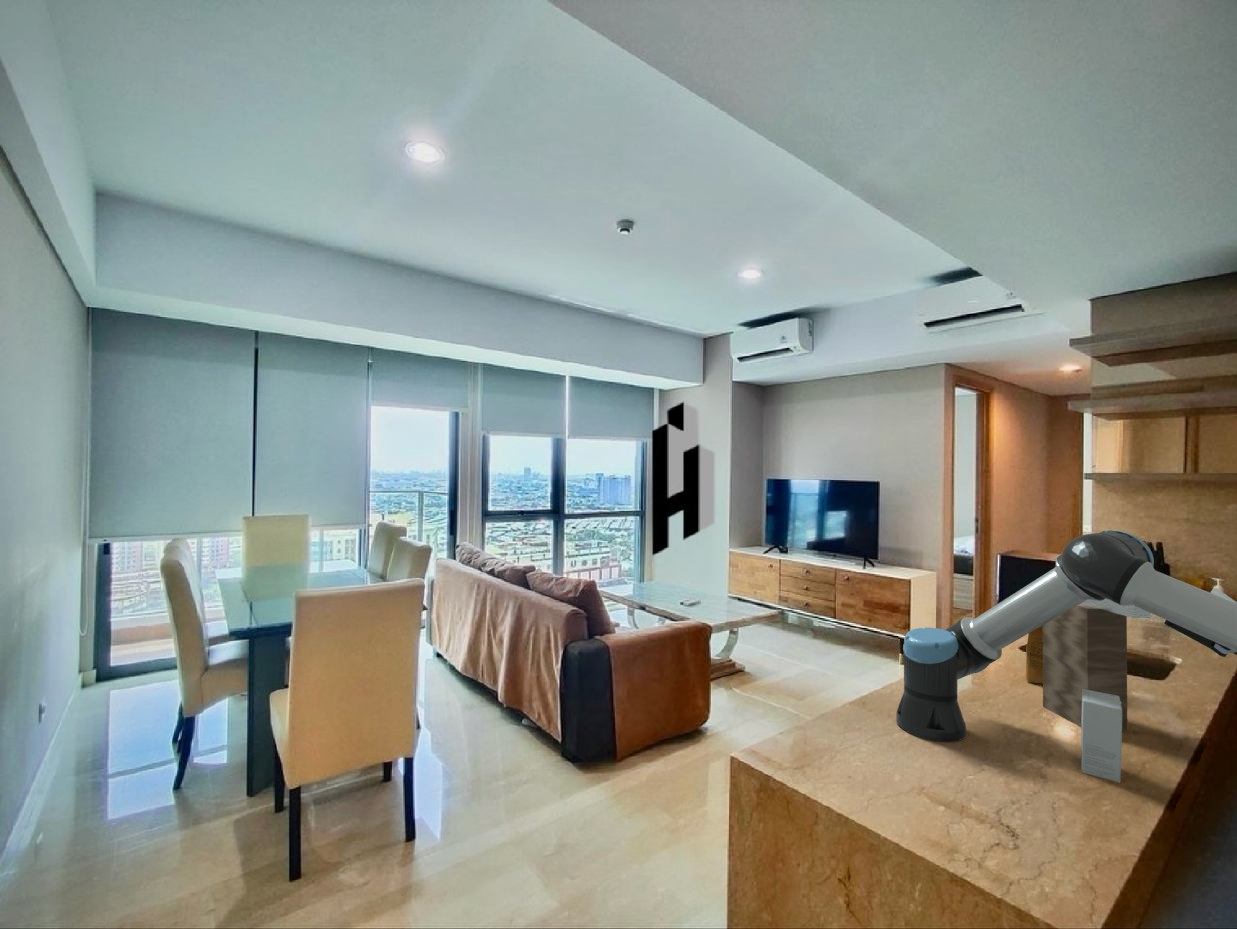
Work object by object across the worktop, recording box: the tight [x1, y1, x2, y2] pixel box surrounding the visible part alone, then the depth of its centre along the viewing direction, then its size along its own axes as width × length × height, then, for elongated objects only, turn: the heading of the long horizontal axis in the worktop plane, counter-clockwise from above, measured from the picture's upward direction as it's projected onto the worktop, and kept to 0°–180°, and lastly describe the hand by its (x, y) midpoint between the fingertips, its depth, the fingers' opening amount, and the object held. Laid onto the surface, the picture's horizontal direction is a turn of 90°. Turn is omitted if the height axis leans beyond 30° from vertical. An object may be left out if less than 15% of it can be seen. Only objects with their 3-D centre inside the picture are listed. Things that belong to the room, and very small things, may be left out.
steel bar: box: [1081, 598, 1152, 619], centre depth 140 cm, size 23×4×3 cm, turn 2°
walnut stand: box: [1042, 604, 1128, 731], centre depth 145 cm, size 14×10×30 cm
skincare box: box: [1080, 689, 1123, 784], centre depth 119 cm, size 8×7×16 cm
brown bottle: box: [1025, 625, 1043, 685], centre depth 170 cm, size 10×12×22 cm
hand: (1181, 593), depth 121 cm, fingers open, 13 cm apart
